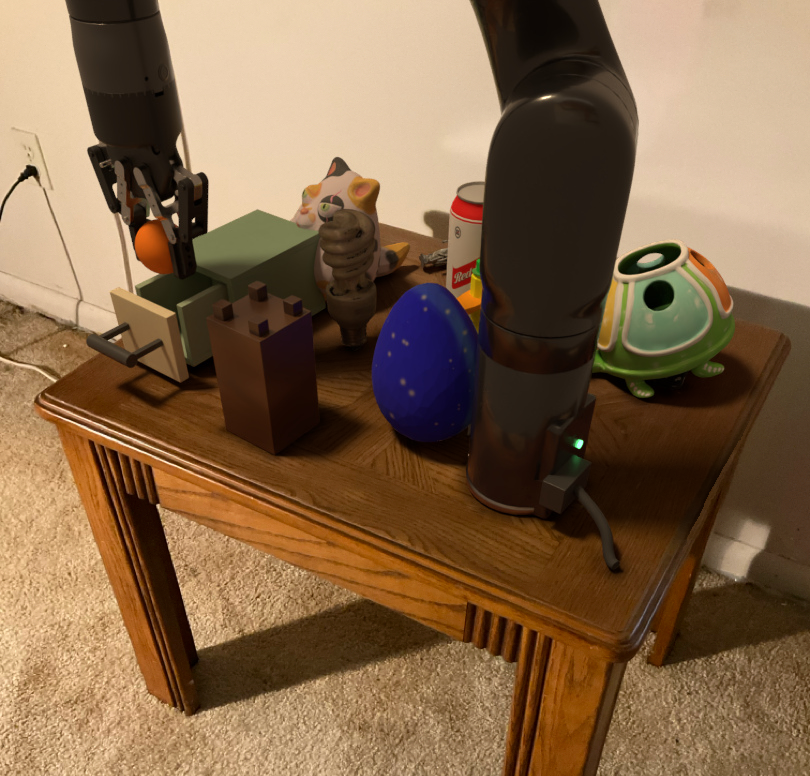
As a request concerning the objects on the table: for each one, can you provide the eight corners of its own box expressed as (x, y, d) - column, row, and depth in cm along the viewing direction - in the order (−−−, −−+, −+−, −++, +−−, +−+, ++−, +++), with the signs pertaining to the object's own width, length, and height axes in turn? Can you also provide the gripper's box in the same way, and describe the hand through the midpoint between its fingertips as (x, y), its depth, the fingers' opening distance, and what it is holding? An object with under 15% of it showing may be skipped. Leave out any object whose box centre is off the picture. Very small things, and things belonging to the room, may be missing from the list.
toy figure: (462, 391, 84) (470, 282, 75) (435, 378, 85) (440, 269, 77) (502, 365, 87) (514, 258, 79) (476, 352, 89) (485, 246, 80)
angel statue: (473, 246, 106) (481, 275, 105) (413, 252, 104) (420, 282, 103) (480, 227, 102) (488, 256, 101) (418, 233, 101) (425, 264, 100)
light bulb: (354, 368, 86) (349, 229, 76) (315, 350, 89) (305, 213, 78) (387, 345, 90) (386, 209, 79) (349, 329, 92) (343, 195, 81)
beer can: (501, 352, 89) (517, 205, 78) (443, 351, 89) (451, 204, 78) (498, 322, 93) (512, 179, 82) (443, 321, 93) (449, 178, 82)
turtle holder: (557, 361, 93) (528, 268, 85) (723, 310, 88) (707, 206, 80) (568, 426, 84) (536, 329, 77) (753, 373, 79) (738, 264, 71)
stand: (320, 422, 80) (310, 298, 70) (274, 455, 76) (257, 329, 67) (272, 399, 82) (256, 276, 73) (226, 429, 79) (203, 304, 69)
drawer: (144, 404, 80) (126, 338, 75) (89, 374, 84) (69, 310, 78) (266, 331, 90) (259, 269, 85) (213, 308, 93) (202, 246, 88)
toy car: (678, 394, 83) (683, 377, 82) (645, 385, 84) (649, 367, 83) (698, 357, 88) (703, 340, 87) (667, 348, 89) (671, 331, 88)
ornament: (499, 437, 78) (516, 293, 68) (428, 478, 74) (434, 330, 63) (422, 387, 84) (426, 247, 73) (352, 422, 80) (345, 278, 69)
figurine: (250, 268, 96) (288, 137, 89) (359, 287, 108) (401, 173, 101) (304, 314, 90) (350, 177, 83) (414, 329, 102) (462, 210, 95)
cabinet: (242, 358, 88) (230, 279, 81) (181, 329, 92) (165, 251, 85) (326, 308, 95) (321, 231, 89) (266, 283, 99) (257, 209, 93)
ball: (203, 269, 81) (195, 219, 77) (164, 288, 78) (154, 237, 75) (169, 255, 83) (159, 205, 79) (130, 273, 80) (118, 223, 77)
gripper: (36, 69, 69) (89, 260, 81) (149, 104, 63) (188, 305, 75) (108, 50, 73) (148, 234, 85) (220, 81, 67) (246, 275, 79)
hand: (166, 266), depth 80 cm, fingers closed on ball, 5 cm apart
